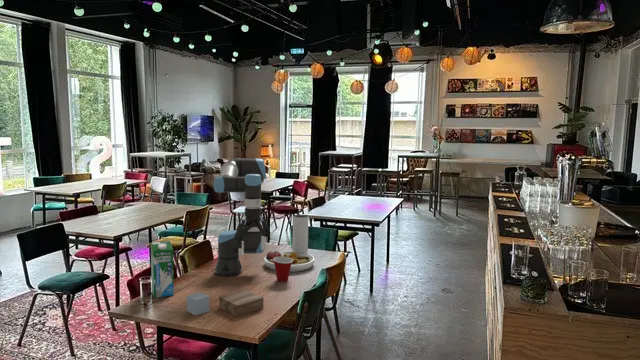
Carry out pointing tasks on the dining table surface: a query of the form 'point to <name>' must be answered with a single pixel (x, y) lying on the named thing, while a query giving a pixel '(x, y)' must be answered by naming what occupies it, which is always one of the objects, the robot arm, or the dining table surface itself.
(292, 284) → the dining table surface
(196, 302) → the slate cube
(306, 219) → the speaker
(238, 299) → the walnut block
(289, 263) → the plastic cup
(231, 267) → the robot arm
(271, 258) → the bowl
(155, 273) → the milk carton
